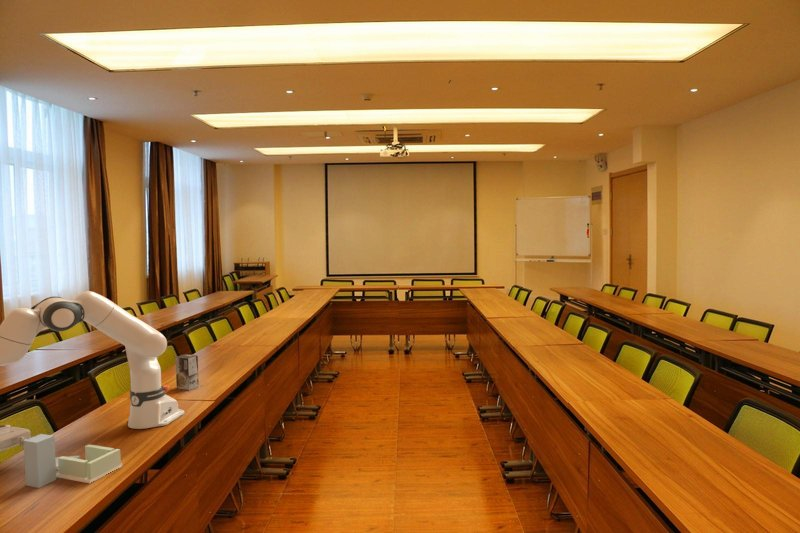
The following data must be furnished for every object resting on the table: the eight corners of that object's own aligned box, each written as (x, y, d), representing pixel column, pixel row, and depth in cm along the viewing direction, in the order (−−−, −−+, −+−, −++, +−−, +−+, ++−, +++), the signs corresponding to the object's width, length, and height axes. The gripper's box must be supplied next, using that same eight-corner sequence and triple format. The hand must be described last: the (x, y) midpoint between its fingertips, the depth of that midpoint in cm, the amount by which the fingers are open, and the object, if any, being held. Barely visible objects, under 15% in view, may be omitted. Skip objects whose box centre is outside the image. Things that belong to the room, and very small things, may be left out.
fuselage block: (43, 477, 160) (41, 433, 159) (56, 479, 158) (54, 435, 157) (25, 485, 155) (23, 440, 154) (39, 488, 153) (36, 442, 152)
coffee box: (199, 386, 256) (198, 355, 255) (189, 390, 250) (188, 358, 249) (186, 384, 260) (185, 353, 259) (175, 388, 254) (174, 356, 253)
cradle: (89, 460, 171) (89, 443, 171) (122, 466, 167) (121, 448, 166) (56, 477, 160) (55, 458, 159) (89, 483, 155) (88, 464, 155)
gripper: (-58, 445, 154) (-27, 451, 149) (12, 422, 173) (41, 427, 169) (-57, 465, 154) (-26, 472, 150) (12, 440, 173) (42, 445, 169)
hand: (10, 448), depth 159 cm, fingers open, 8 cm apart
